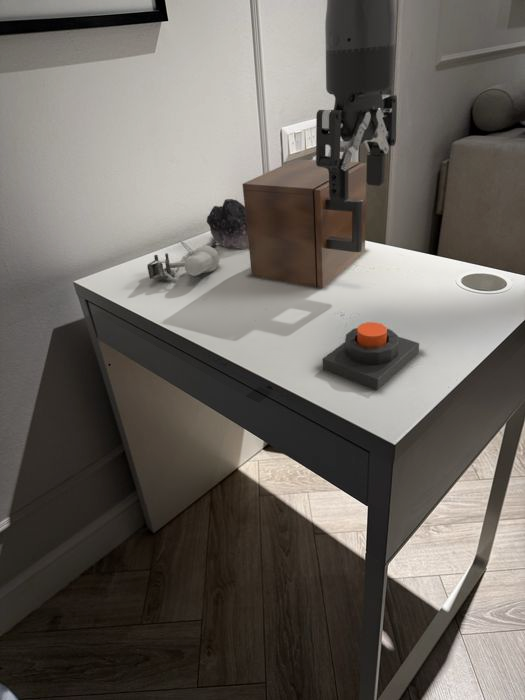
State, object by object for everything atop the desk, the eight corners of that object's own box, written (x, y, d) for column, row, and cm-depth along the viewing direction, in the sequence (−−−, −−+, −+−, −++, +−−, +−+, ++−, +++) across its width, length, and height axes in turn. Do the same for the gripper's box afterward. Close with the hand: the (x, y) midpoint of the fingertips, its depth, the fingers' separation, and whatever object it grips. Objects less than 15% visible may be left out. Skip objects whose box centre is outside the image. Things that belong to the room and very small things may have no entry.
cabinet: (358, 253, 100) (360, 161, 91) (316, 290, 87) (312, 188, 79) (299, 245, 106) (295, 159, 98) (252, 279, 94) (242, 183, 85)
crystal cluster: (272, 230, 118) (265, 185, 114) (276, 245, 106) (268, 196, 102) (214, 240, 119) (205, 196, 114) (212, 257, 107) (201, 208, 102)
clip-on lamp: (179, 269, 109) (145, 287, 92) (173, 238, 107) (137, 251, 90) (233, 263, 106) (208, 280, 89) (228, 231, 104) (201, 243, 88)
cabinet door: (394, 257, 96) (399, 164, 88) (355, 296, 84) (355, 192, 75) (360, 252, 100) (361, 162, 91) (317, 290, 87) (314, 189, 78)
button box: (365, 339, 72) (366, 314, 70) (418, 357, 68) (420, 330, 65) (322, 373, 66) (322, 346, 64) (377, 394, 62) (378, 366, 59)
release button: (367, 331, 67) (367, 319, 66) (391, 339, 65) (392, 327, 64) (351, 343, 65) (351, 331, 64) (376, 351, 63) (376, 339, 62)
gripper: (354, 46, 50) (353, 212, 59) (421, 37, 59) (411, 182, 68) (293, 50, 55) (300, 204, 63) (364, 41, 64) (361, 177, 72)
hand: (357, 192), depth 65 cm, fingers open, 8 cm apart
